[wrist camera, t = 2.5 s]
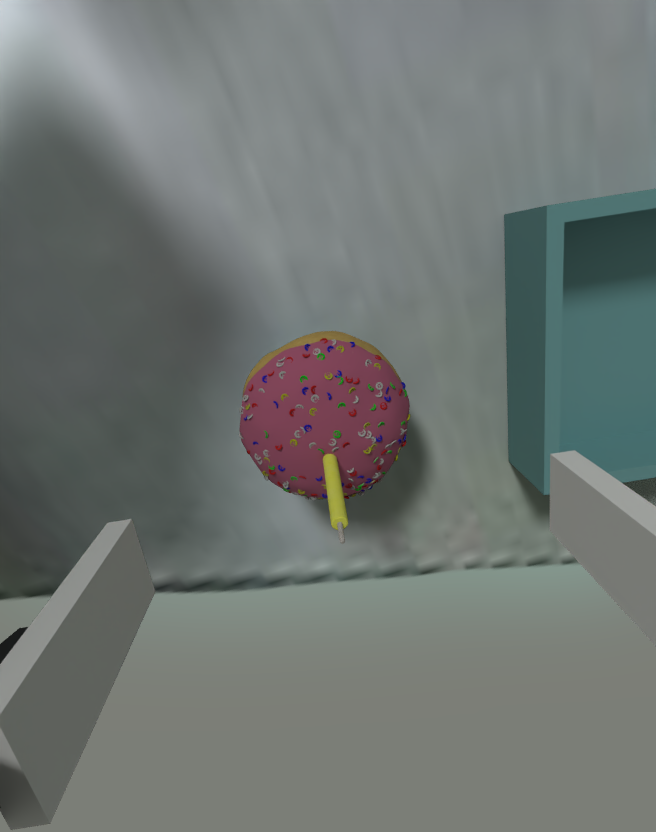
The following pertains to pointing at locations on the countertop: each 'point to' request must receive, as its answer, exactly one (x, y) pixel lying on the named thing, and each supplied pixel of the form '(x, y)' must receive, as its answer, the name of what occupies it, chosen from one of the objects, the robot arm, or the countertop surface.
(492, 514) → the countertop surface
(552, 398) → the tub
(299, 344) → the cupcake
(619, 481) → the robot arm
